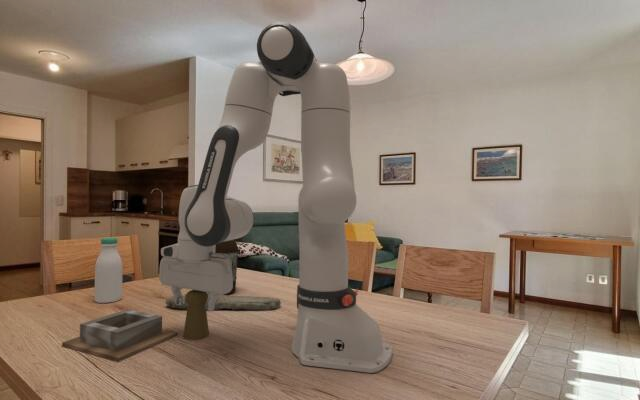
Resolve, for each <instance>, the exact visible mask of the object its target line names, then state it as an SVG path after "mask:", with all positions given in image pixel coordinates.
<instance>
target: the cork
mask: <svg viewBox="0 0 640 400" xmlns="http://www.w3.org/2000/svg"><path fill="white" fill-rule="evenodd" d="M207 293H208V292H203V291H197V290H192V289H190V290H189V291H187V293H185V294H186V303H187V304H188V307H187V309H186V314H185V322H184V327H183V328H184V329H183V335H182V338H183V339H184V340H188V341H195V340H196V341H197V340H202V339H205V338H207V337H209V336H210V329H209V322H208V314H207V313H208V312H207V310H205V303H206V302H207V299H208V294H207Z"/></svg>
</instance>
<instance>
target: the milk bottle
mask: <svg viewBox="0 0 640 400" xmlns="http://www.w3.org/2000/svg"><path fill="white" fill-rule="evenodd" d="M117 245H118V238H117V237H103V238H101V239H100V246H101V250H100V253H99V255H98V256H97V259H96V262H95V265H94V266H95V267H94V302H95V303H98V304H107V303H115V302H118V301H120V300H121V299H122V298H123V260H122V257H121V256H120V253H119V252H118V249H117Z"/></svg>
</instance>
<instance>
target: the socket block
mask: <svg viewBox="0 0 640 400" xmlns="http://www.w3.org/2000/svg"><path fill="white" fill-rule="evenodd" d="M178 335H179V334H178V331H177V330H170V329H166V328H163V316H162V315H158V314H155V313H154V314H153V313H147V312H142V311H139V310H138V311H137V310H133V309H132V310H131V309H124V310H120V311H117V312H114V313H111V314H109V315H108V314H107V315H105V316H101V317H98V318H95V319H92V320H89V321H86V322H82V323H80V324H79V336H78V337H74V338H71V339H69V340H66V341H63V342H61V347H63V348H68V349H71V350H75V351H78V352H82V353H86V354H89V355H94V356H97V357H100V358H104V359H107V360H111V361H115V362H118V363H119V362H121V361H123V360H126V359H127V358H130V357H131V356H134V355H136V354H137V355H138V353H141V352H143V351H145V350H148V349H150V348H153V347H154V346H156V345H159V344H161V343H163V342H165V341H168V340H170V339H172V338H174V337H177V336H178Z"/></svg>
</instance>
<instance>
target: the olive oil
mask: <svg viewBox="0 0 640 400" xmlns="http://www.w3.org/2000/svg"><path fill="white" fill-rule="evenodd" d="M215 253H218V254H226V255H227V256H228V257H229V258H230V259H231V261H232V276H233V288H232V290H231V291H230V292H229V293H226V294H223V295H229V296H231V295H233V294H235V293H236V291H237V290H236V289H237V286H236V285H237V268H238V256H239V254H238V253H239V248H238V243H237V242H236V239H233V240H230V241H225V242H221V243H219V244H216V246H215ZM226 259H228V258H226ZM207 293H209V292H207Z"/></svg>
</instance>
